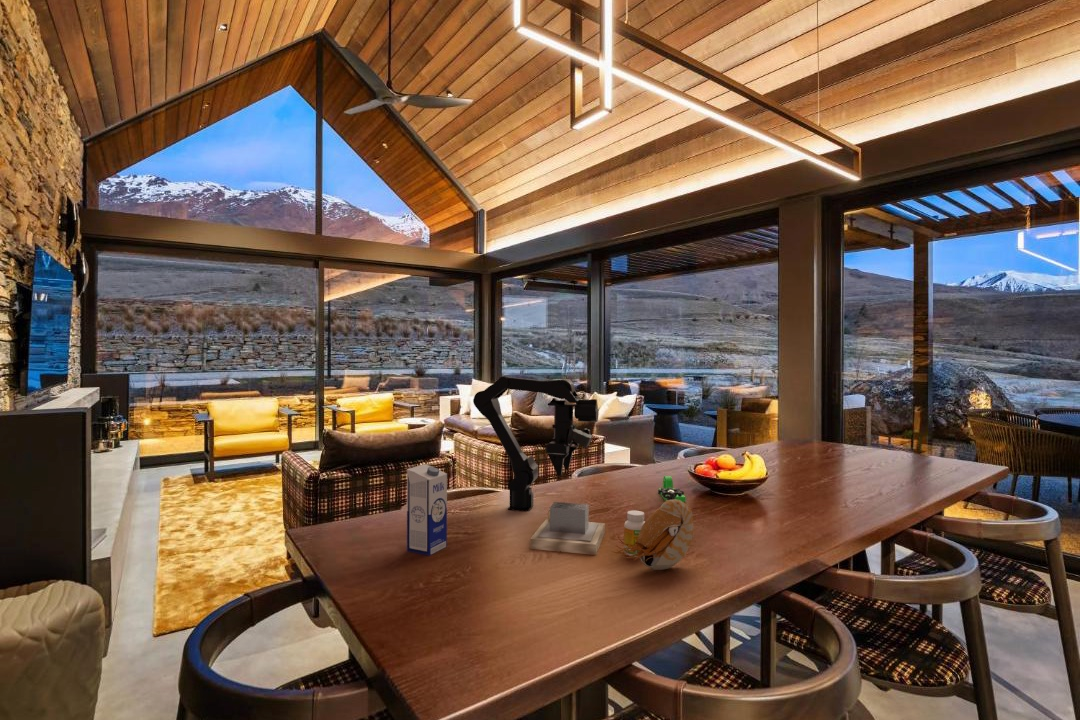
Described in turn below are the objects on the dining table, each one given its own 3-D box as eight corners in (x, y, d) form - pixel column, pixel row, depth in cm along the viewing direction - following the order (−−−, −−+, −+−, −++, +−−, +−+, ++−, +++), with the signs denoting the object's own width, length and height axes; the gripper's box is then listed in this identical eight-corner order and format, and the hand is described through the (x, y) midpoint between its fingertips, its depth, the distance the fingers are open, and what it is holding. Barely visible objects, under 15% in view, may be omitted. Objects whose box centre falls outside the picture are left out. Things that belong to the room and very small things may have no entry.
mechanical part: (685, 503, 175) (685, 478, 175) (666, 503, 175) (666, 478, 175) (676, 493, 187) (676, 470, 187) (658, 493, 187) (658, 470, 187)
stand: (530, 549, 131) (530, 537, 131) (546, 527, 148) (546, 517, 148) (595, 555, 128) (595, 543, 128) (604, 532, 144) (604, 522, 144)
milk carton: (425, 543, 136) (425, 463, 135) (447, 547, 133) (447, 465, 133) (406, 552, 129) (406, 468, 129) (429, 556, 126) (429, 471, 126)
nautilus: (604, 574, 116) (604, 504, 116) (679, 556, 127) (679, 492, 127) (628, 588, 109) (628, 514, 109) (705, 568, 120) (705, 500, 120)
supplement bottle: (633, 559, 125) (633, 517, 125) (619, 551, 130) (619, 511, 130) (651, 555, 128) (652, 514, 128) (637, 548, 132) (637, 508, 132)
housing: (585, 534, 134) (585, 510, 134) (546, 531, 136) (546, 507, 136) (588, 527, 139) (588, 504, 139) (551, 524, 142) (551, 501, 142)
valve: (689, 537, 141) (689, 490, 141) (672, 542, 137) (672, 494, 137) (669, 530, 146) (669, 486, 146) (652, 535, 142) (652, 489, 142)
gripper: (583, 425, 152) (582, 481, 152) (595, 418, 170) (595, 468, 170) (545, 424, 156) (544, 478, 156) (561, 417, 173) (560, 466, 173)
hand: (563, 472), depth 164 cm, fingers open, 9 cm apart
